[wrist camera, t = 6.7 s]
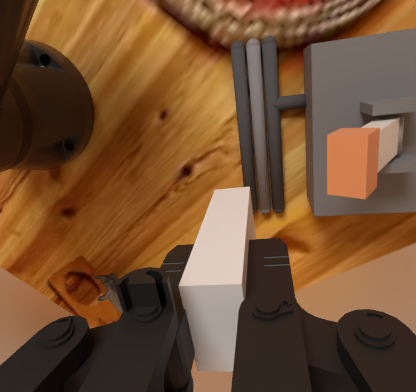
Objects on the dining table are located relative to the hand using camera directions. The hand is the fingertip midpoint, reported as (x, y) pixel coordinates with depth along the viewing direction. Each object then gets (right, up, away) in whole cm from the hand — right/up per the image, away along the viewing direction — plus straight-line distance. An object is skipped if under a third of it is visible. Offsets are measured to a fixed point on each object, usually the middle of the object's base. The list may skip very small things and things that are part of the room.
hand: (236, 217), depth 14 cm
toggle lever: (+14, +6, +13) cm, 20 cm away
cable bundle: (+6, +8, +22) cm, 24 cm away
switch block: (+15, +9, +20) cm, 27 cm away
